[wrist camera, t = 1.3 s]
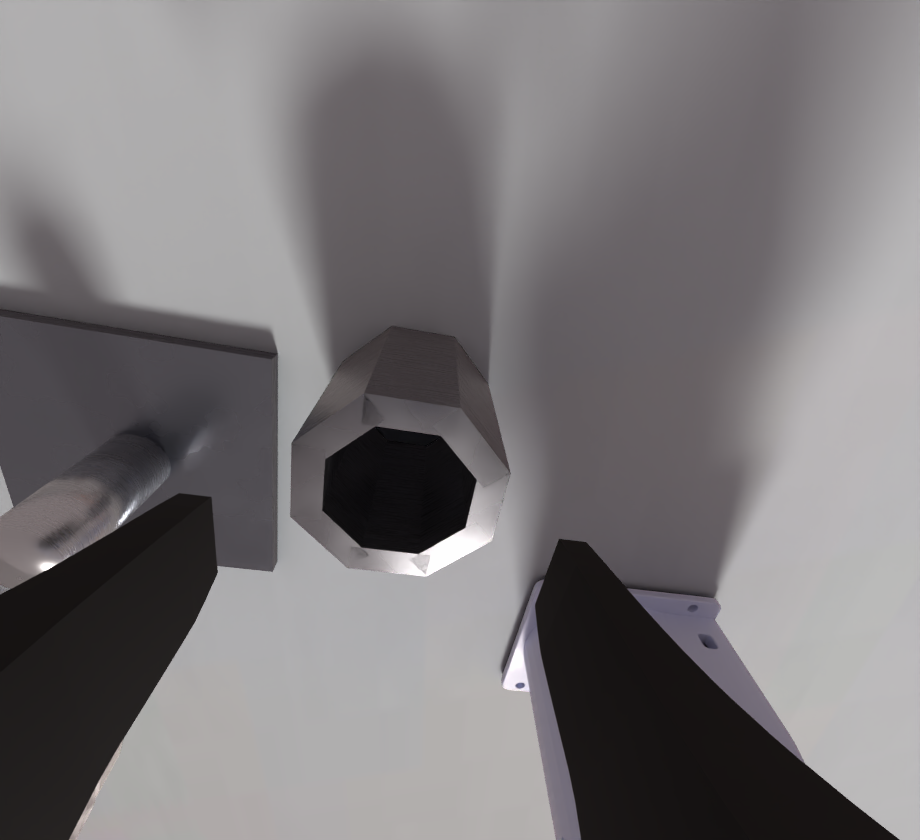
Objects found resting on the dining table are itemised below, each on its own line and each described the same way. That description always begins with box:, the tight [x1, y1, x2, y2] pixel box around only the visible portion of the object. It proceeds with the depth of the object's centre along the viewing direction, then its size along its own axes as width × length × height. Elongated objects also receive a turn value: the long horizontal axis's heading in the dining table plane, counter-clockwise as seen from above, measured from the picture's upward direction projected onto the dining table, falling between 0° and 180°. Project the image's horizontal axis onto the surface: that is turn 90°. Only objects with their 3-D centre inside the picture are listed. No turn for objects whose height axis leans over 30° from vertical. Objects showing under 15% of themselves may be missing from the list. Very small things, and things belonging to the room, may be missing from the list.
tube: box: [290, 326, 511, 576], centre depth 14 cm, size 5×5×6 cm
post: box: [0, 310, 278, 589], centre depth 15 cm, size 10×10×6 cm
